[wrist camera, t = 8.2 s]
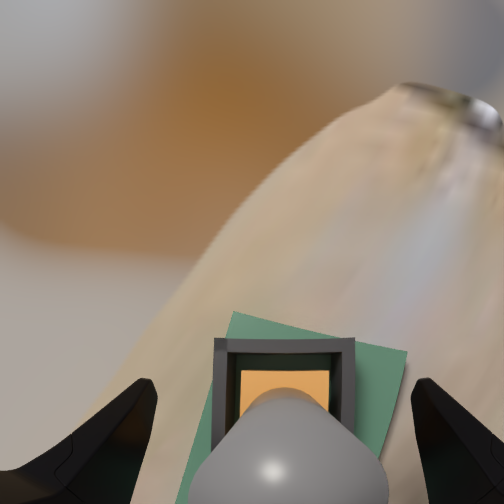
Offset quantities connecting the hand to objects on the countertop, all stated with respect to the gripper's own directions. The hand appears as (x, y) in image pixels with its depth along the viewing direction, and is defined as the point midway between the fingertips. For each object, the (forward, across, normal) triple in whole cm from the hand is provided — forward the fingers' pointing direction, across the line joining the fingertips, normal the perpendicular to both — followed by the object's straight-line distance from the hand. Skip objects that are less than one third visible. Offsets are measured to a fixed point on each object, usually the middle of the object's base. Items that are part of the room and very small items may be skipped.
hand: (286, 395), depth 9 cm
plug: (+4, 0, +6) cm, 7 cm away
